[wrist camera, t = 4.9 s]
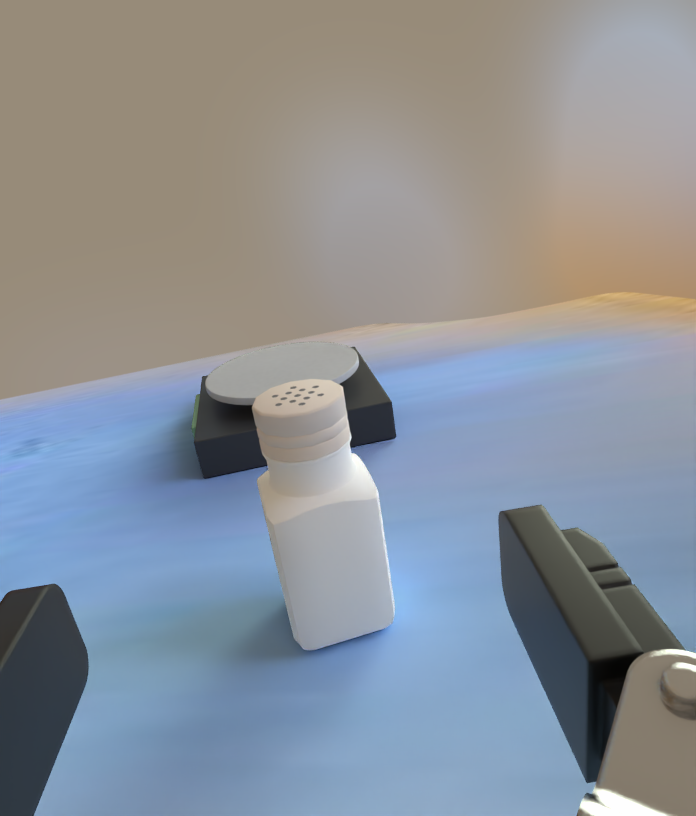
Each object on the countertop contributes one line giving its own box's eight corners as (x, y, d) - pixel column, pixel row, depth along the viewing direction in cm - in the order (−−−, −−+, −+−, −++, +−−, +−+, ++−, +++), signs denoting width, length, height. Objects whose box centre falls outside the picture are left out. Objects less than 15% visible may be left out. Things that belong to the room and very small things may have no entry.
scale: (359, 375, 49) (352, 327, 48) (396, 437, 38) (388, 378, 37) (204, 407, 48) (191, 358, 46) (197, 480, 37) (180, 420, 35)
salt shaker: (282, 594, 26) (234, 389, 23) (372, 568, 27) (339, 365, 23) (299, 661, 23) (245, 431, 19) (401, 630, 23) (369, 402, 20)
